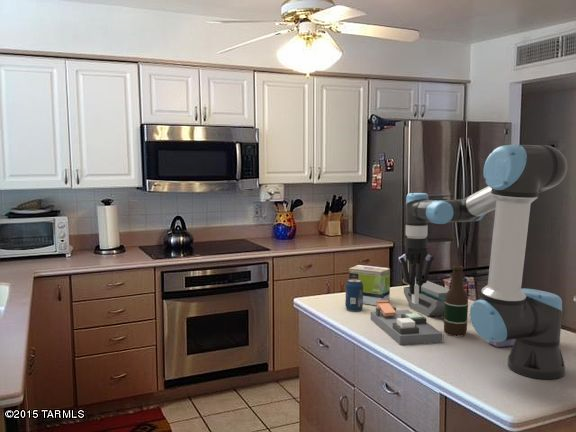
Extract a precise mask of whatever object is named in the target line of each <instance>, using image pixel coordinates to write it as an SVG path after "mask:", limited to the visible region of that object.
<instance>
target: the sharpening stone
mask: <svg viewBox="0 0 576 432" xmlns="http://www.w3.org/2000/svg"><path fill="white" fill-rule="evenodd" d="M402 283H403V284H405V285H408V286H405V287H403V294H404V296H405V298H406V301H407V303H408V305H409V307H410V309H411V310H413V311H414V312H416V313H419V314H420V315H422V316H424V317H434V316H437V317H438V316H444V311H445V297H446V294H447V292H448V291H449V290H450V288H447V287H445V286H443V285H440V284H438V283H437V284H436V283H435V282H431V281H430V280H427V282H426V283H423V285H422V286H421V294H419V304H414V303H412V294H410V292H409V291H410V285H409V284H407V283H405V282H404V278H402ZM415 284H416V277H415Z"/></svg>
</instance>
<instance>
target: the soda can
mask: <svg viewBox="0 0 576 432" xmlns="http://www.w3.org/2000/svg"><path fill="white" fill-rule="evenodd" d="M344 304H345V308H346V310H347V311H349V312H360V311H361V310H362V309H363V307H364V304H363V283H362V280H360V279H349V278H348V279H347V281H346V283H345V303H344Z"/></svg>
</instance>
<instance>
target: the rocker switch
mask: <svg viewBox="0 0 576 432" xmlns="http://www.w3.org/2000/svg"><path fill="white" fill-rule="evenodd" d="M375 306H376V307H379V308H380V311H381V312H382V314H383V315H384V316H396V311H395V310H394V309H393V308H392V307H393V306H392V305H391V304H390V300H389V301H388V300H381V301H376V305H375Z"/></svg>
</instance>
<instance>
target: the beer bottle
mask: <svg viewBox="0 0 576 432" xmlns="http://www.w3.org/2000/svg"><path fill="white" fill-rule="evenodd" d="M451 269H452V275H451V284H450V288H449V289H450V290H449V291H448V292H447V294H446V297H445V311H444V315H443V332H444V333H445V334H446V335H448V336H454V337H464V336H466V334H467V330H468V315H469V313H468V312H469V311H468V309H469V298H468V294H467V292H466V290H465V289H464V277H463V276H464V275H463V274H464V272H463V270H464V266H463V265H461V264H454V265H453V266H452V267H451Z"/></svg>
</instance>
